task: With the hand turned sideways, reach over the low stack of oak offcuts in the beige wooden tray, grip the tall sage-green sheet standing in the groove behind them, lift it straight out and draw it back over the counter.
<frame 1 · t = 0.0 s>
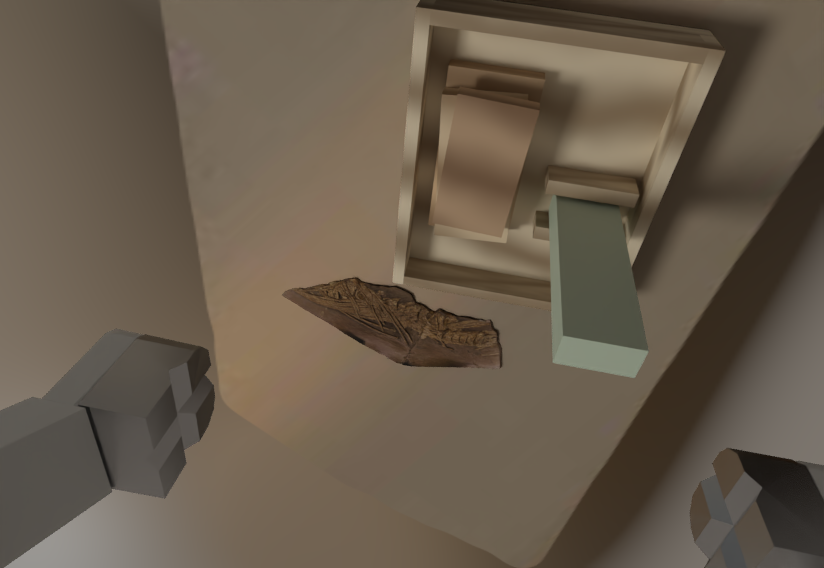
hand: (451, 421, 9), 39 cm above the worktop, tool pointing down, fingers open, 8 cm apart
offcut stack: (481, 152, 46), point 1 cm above the worktop, touching beige wooden tray
tall sheet: (581, 201, 48), point 1 cm above the worktop, touching beige wooden tray
beige wooden tray: (528, 162, 48), on the worktop
wooden fragment: (395, 321, 63), on the worktop
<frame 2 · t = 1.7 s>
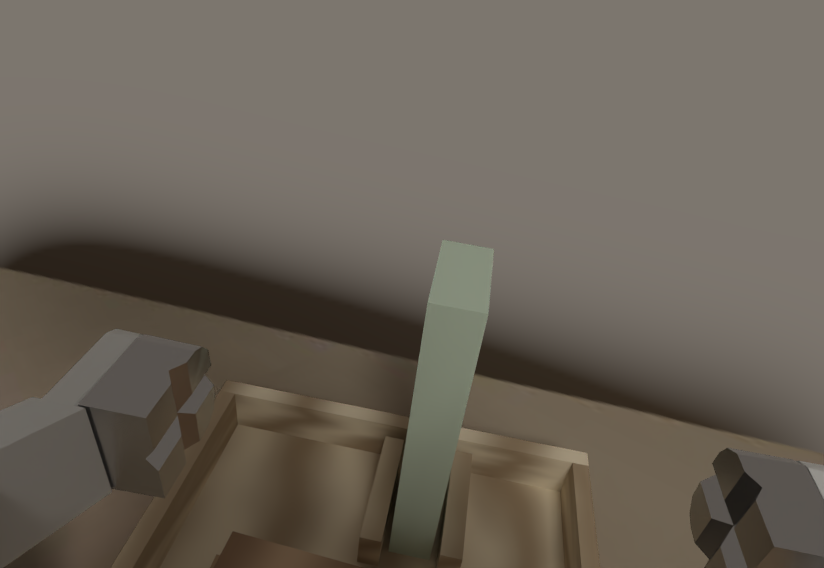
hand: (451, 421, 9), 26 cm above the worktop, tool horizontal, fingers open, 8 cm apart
tall sheet: (415, 516, 34), point 1 cm above the worktop, touching beige wooden tray
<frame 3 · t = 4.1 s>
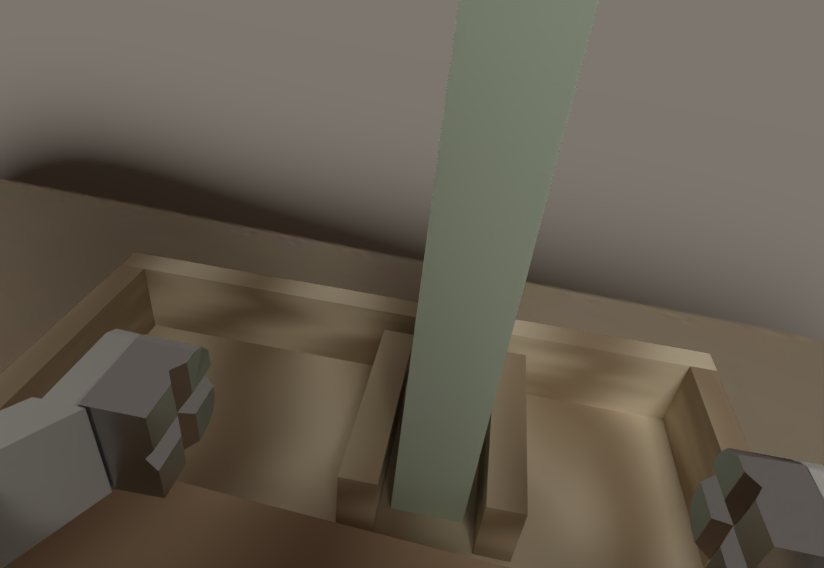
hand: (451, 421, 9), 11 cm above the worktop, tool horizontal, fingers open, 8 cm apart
tall sheet: (435, 454, 21), point 1 cm above the worktop, touching beige wooden tray
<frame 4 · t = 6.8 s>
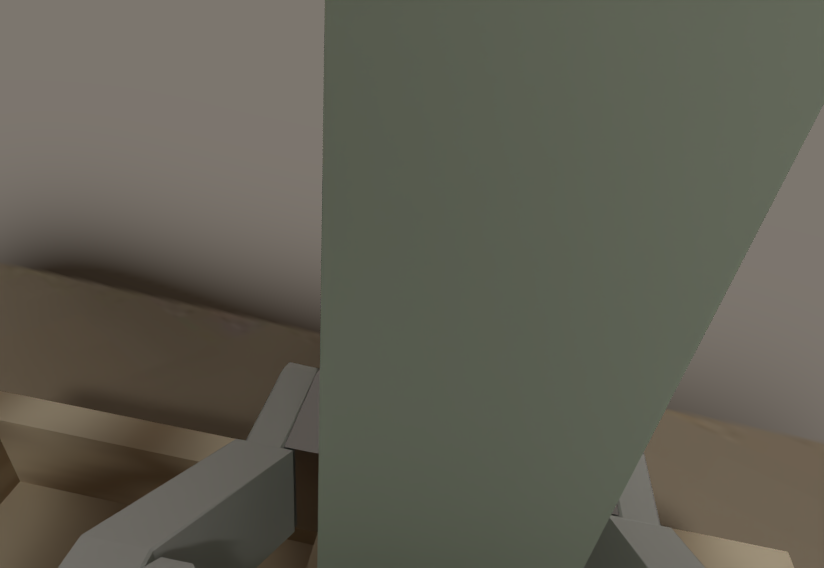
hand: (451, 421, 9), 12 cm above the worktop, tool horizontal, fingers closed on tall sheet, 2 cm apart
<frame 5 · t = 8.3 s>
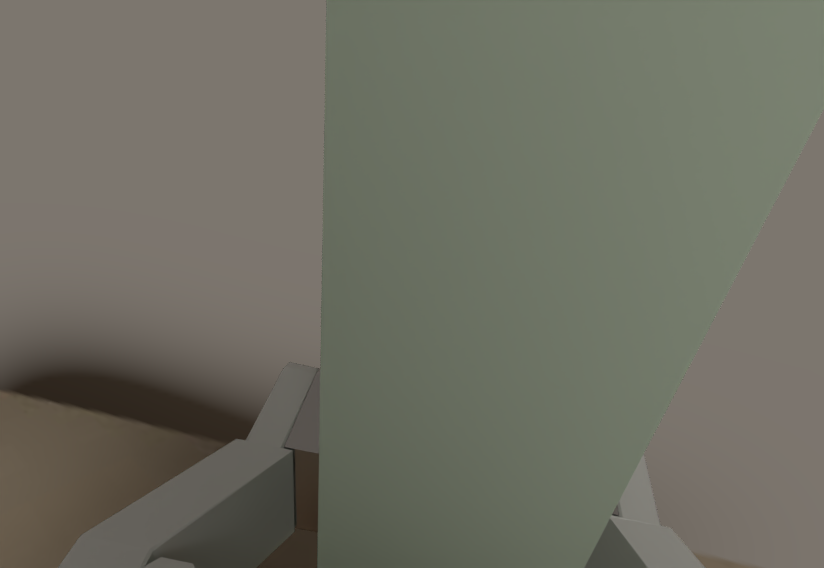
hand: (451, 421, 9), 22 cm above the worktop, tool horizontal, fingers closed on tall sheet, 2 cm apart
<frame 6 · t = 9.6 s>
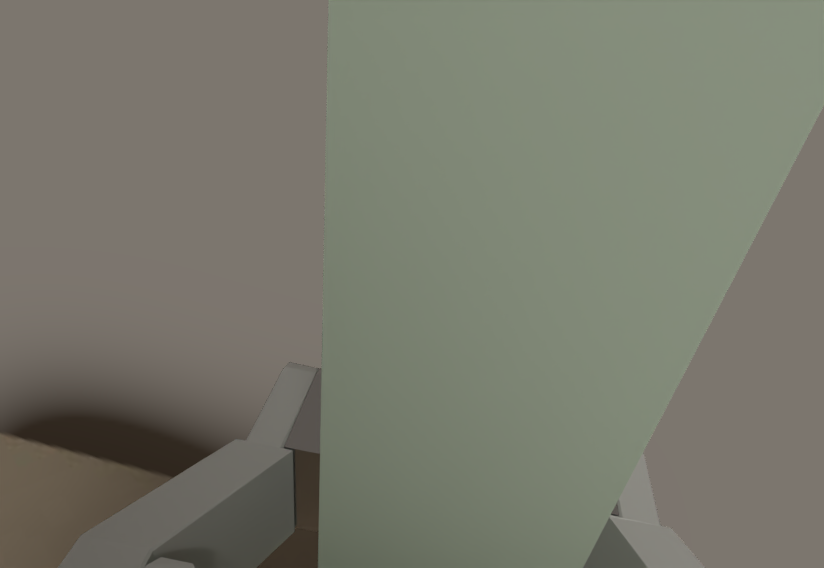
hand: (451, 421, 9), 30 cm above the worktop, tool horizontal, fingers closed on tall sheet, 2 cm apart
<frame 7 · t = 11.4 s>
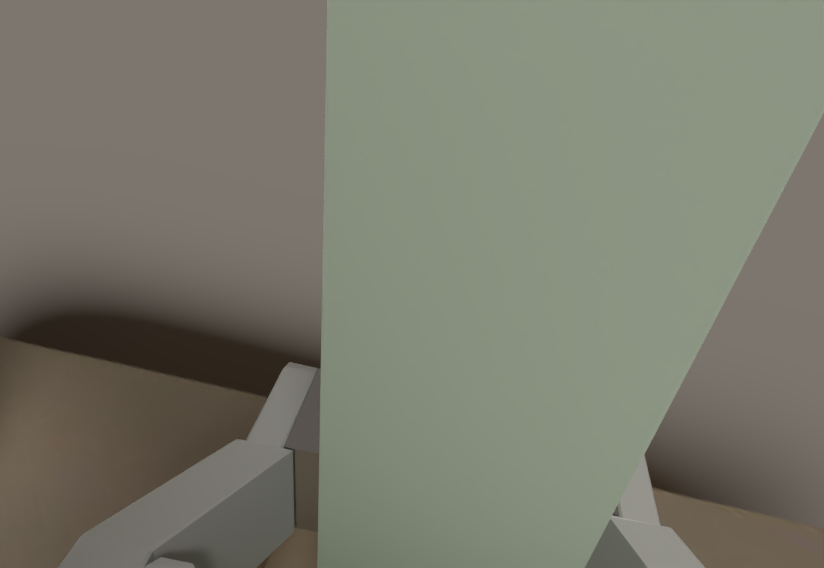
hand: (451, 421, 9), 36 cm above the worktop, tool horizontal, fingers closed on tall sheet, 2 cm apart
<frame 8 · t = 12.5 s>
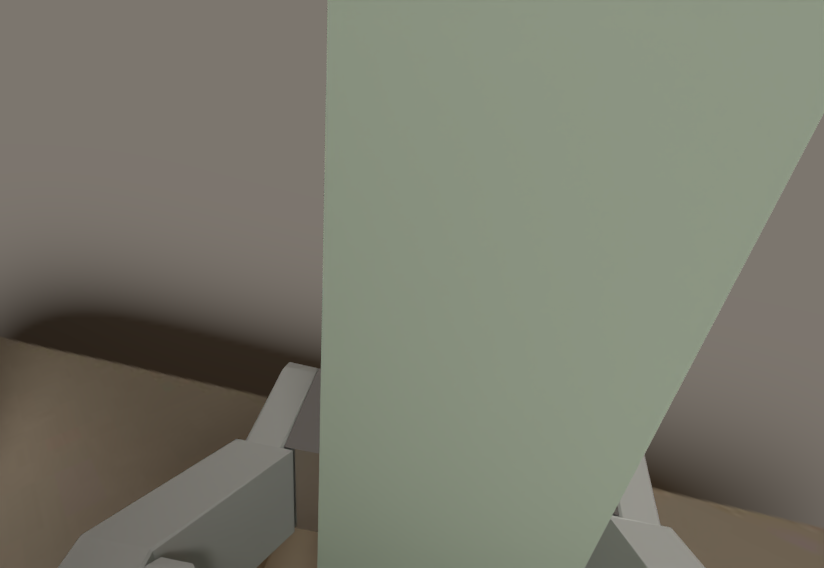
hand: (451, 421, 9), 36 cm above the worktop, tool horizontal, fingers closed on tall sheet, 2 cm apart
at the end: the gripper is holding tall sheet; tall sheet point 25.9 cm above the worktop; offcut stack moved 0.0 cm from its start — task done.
